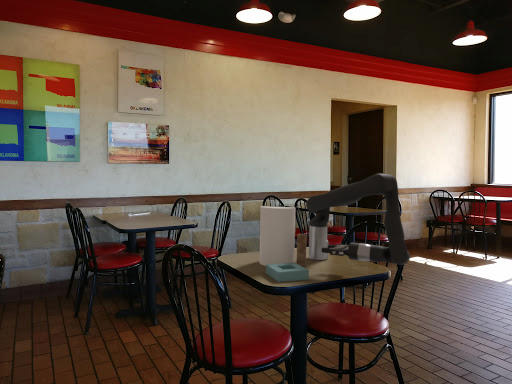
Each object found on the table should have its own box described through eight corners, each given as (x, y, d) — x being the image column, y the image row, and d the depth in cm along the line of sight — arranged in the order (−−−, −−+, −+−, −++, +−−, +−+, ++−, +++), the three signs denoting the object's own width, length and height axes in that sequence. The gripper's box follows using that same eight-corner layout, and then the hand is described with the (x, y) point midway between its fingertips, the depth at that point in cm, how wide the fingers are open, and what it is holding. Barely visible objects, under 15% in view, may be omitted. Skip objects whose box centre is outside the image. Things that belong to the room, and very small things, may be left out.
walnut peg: (303, 266, 189) (304, 233, 188) (307, 269, 185) (308, 235, 184) (294, 267, 188) (295, 234, 187) (298, 269, 184) (299, 235, 183)
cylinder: (292, 268, 186) (293, 209, 185) (256, 265, 189) (257, 207, 188) (295, 260, 203) (297, 206, 201) (262, 258, 206) (263, 204, 205)
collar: (294, 271, 180) (294, 262, 180) (308, 279, 167) (308, 270, 167) (265, 273, 176) (265, 264, 175) (278, 281, 162) (278, 272, 162)
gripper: (364, 241, 179) (329, 238, 186) (356, 245, 166) (319, 242, 174) (364, 257, 179) (329, 253, 187) (356, 263, 167) (319, 259, 174)
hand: (324, 248), depth 180 cm, fingers open, 8 cm apart
